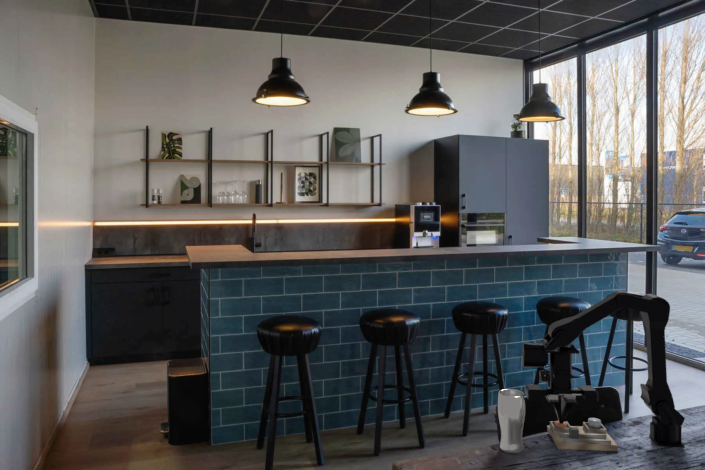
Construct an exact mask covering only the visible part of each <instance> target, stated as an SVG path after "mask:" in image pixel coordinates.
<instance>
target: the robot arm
mask: <svg viewBox="0 0 705 470" xmlns="http://www.w3.org/2000/svg"><path fill="white" fill-rule="evenodd" d="M622 308H625V309H626V308H627V309H631V310H635V311H639V312H640V316H641V318H642V322H643V324H644V326H645V327H644V328H645V341H646V360H647V363H646V364H647V381H646V383H640V390H641V395H640V399H641V400H642V401H643V403H644V404H645V406H647V408H648V409H649V410H650V411H651V413H652V414H654V415H652V416H651V421H650V422H649V434H648V435H649V436H648V437H650V438H651V439H652V440H653V441H654V442H655V443H656V444H657V445H658V446H661V447H663V446H667V447H685V445H686V444H685V443H684V442H683V441H682V426H683V424H684V421H685V418H686V417H684V416H683V414H681V413H680V412H679V411H678V410H676V407H675V406H676V405H675V401H674V398H673V394H672V392H671V389H670V386H669V384H668V376H667V372H668V371H667V355H666V353H667V352H666V334H665V333H666V328H667V326H668V323H669V319H670V313H671V305H670V303H669V302H668V301H667V300H666V299H665V298H663V297H660V296H659V295H657V294H654V293H647V294H645V295H644V294H643V295H641V294H636V293H631V292H625V291H622V290H615V291H613V292H612V293H611V294H610V295H608V296H606V297H605V298H603V299H601V300H600V301H598V302H596V303H595V304H592V305H591V306H590V307H588V308H586V309H584V310H583V311H581V312H579V313H578V314H576V315H573V316H569V317H565V318H561V319H560V320H556V321H554V322H552V323H551V324H550V325H549V326H548V330H547V331H548V332H547V333H546V335H545V336H544V337H543V339H541V341H540V343H536V342H528V341H527V342H525V341H523V342H522V351H521V365H522V368H537V369H538V368H545V367H547V365H548V364H549V369H548V371H547V370H546V369H545V370H543V369H542V370H541V369H540V370H538V373H539V374H538V375H539V376H538V377H539V378H538V379H539V382H543V383H546V384H545V385H546V386H547V387H548V388H542V387H541V386H540V384H530V383H529V384H526V385H525V386H524V396H526V398H527V400H528V401H539V402H540V401H541V400H542V399H544V397H545V398H546V401H548V402H549V404H551V405H552V406H553V408H554V411H555V414H556V417H557V421H559V423H562V424H563V422H565V420H566V418H567V416H568V414H569V412H570V410H571V409H572V408H573V405H577V404H578V401H577V399H576V398H577V397H582V398H584V400H585V401H586V402H588V403H589V402H592V403H593V402H594V403H596V402H600V400H599V399H600V397H599V392H598V391H597V389H595V388H594V387H593V386H592V385H588V384H587V385H584V384H583V385H581V384H579V385H578V386H577V388H576V389H575V388H573V384H572V383H573V382H572V379H574V378H573V373H572V371H573V370H572V369H573V368H572V365H573V364H572V360H573V359H572V355H573V354H576V355H577V354H580V351H579V349H578V348H577V347H575V345H574V344H573V342H574V341H575V340H576V339H578V338H579V336H580V335H581V334H582V333H583V332H584V331H585V330H586V329H588V328H590V327H592V326H593V325H595V324H597V323H598V322H600V321H602V320H603V319H606V318H607V317H609V316H610V315H612V314H614V313H615V312H617V311H619V310H621V309H622ZM559 397H560V398H559ZM560 400H561V401H560Z"/></svg>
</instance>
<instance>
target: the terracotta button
mask: <svg viewBox="0 0 705 470" xmlns="http://www.w3.org/2000/svg"><path fill="white" fill-rule="evenodd" d="M554 421H555V427H557V428H567V423H566V422H567V421H564V422H563V424H562V423H559V420H554Z"/></svg>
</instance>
